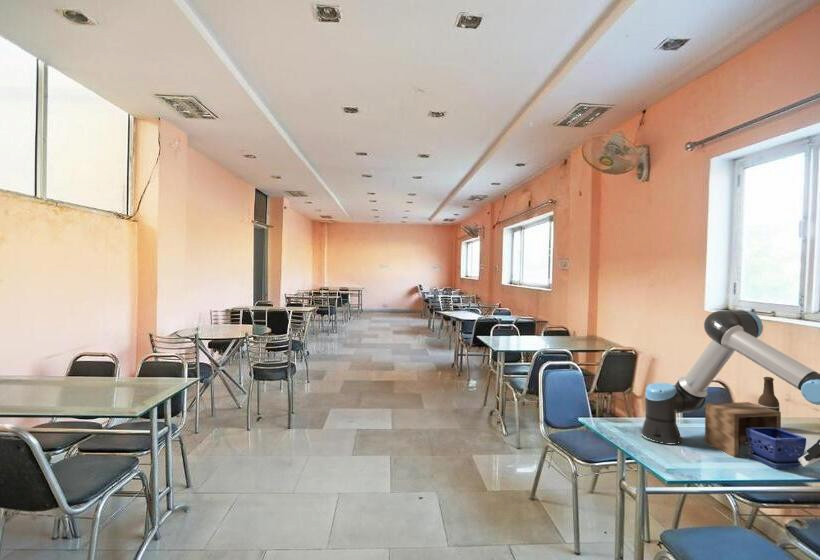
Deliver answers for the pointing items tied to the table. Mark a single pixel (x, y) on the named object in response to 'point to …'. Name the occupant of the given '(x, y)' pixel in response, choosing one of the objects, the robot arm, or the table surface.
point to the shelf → (735, 424)
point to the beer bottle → (769, 395)
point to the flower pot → (776, 446)
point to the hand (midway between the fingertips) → (802, 462)
